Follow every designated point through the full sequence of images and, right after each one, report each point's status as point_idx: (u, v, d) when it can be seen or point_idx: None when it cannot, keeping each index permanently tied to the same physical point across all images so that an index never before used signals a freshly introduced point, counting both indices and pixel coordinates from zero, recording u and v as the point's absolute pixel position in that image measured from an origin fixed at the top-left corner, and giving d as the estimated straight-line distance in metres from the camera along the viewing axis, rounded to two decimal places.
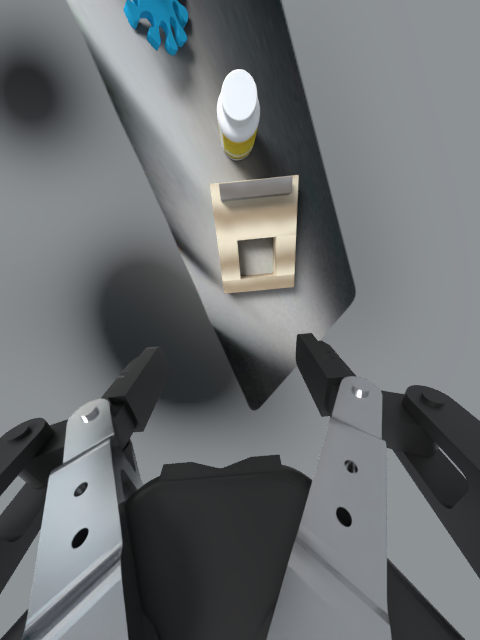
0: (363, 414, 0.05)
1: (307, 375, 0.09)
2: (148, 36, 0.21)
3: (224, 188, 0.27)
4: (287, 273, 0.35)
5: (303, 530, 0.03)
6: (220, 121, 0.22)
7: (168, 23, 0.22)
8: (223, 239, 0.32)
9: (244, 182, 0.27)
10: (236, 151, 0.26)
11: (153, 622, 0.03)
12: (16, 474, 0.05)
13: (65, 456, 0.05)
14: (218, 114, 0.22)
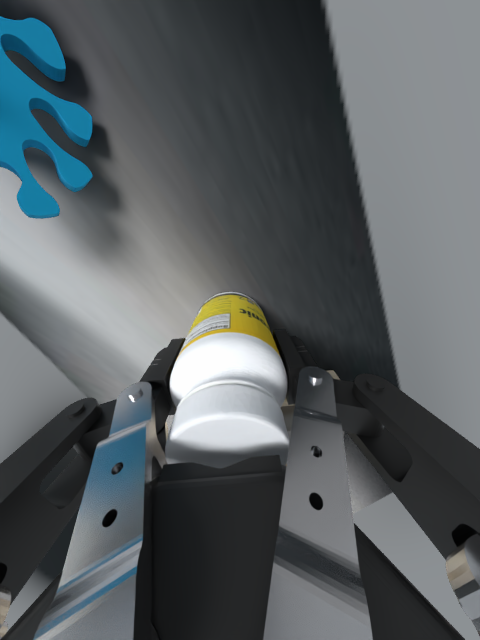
0: (320, 400, 0.06)
1: None
2: None
3: None
4: None
5: (282, 527, 0.03)
6: None
7: (17, 160, 0.08)
8: None
9: None
10: None
11: (153, 622, 0.03)
12: (69, 448, 0.06)
13: (111, 429, 0.06)
14: (174, 403, 0.08)
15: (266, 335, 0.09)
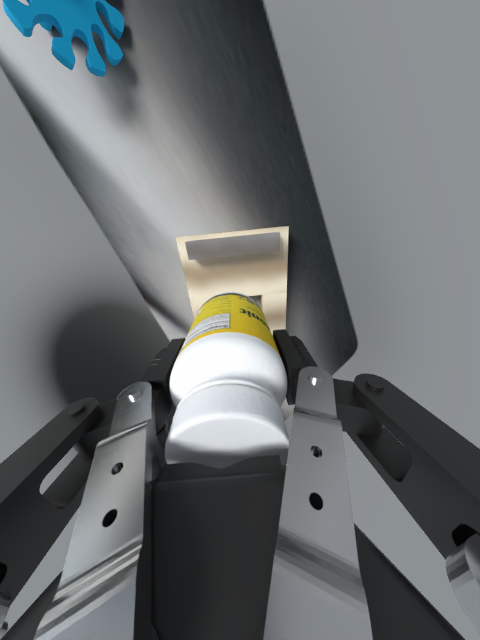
0: (320, 400, 0.06)
1: None
2: (53, 50, 0.14)
3: (192, 247, 0.21)
4: None
5: (282, 528, 0.03)
6: None
7: (88, 33, 0.15)
8: (197, 298, 0.26)
9: (218, 240, 0.21)
10: None
11: (153, 622, 0.03)
12: (68, 448, 0.06)
13: (111, 429, 0.06)
14: (174, 403, 0.08)
15: (266, 335, 0.09)
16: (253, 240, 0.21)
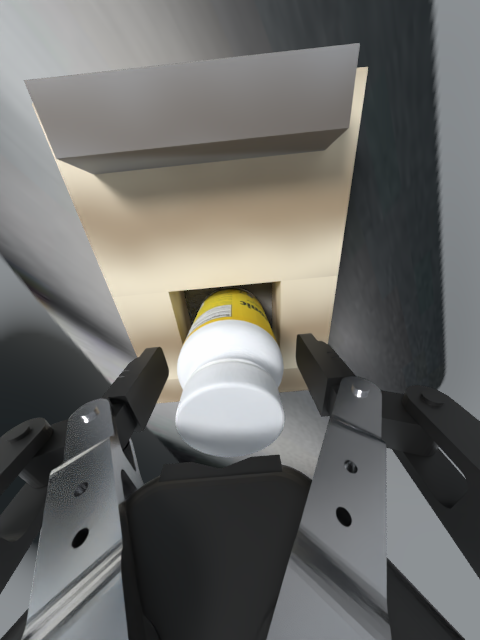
0: (363, 414, 0.05)
1: (307, 375, 0.09)
2: None
3: (57, 105, 0.06)
4: None
5: (303, 530, 0.03)
6: None
7: None
8: (127, 288, 0.11)
9: (140, 74, 0.06)
10: None
11: (153, 622, 0.03)
12: (16, 474, 0.05)
13: (66, 455, 0.05)
14: (180, 384, 0.09)
15: (264, 324, 0.09)
16: (264, 78, 0.06)
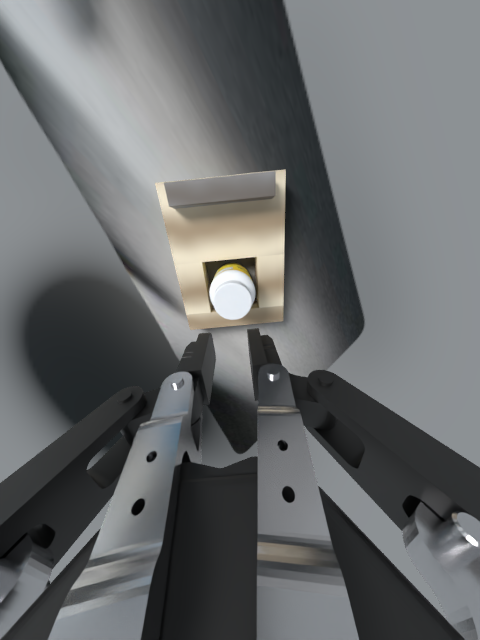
0: (280, 394, 0.06)
1: None
2: None
3: (173, 189, 0.18)
4: (274, 304, 0.26)
5: (261, 534, 0.03)
6: (213, 304, 0.21)
7: None
8: (182, 260, 0.23)
9: (202, 180, 0.18)
10: None
11: None
12: (114, 434, 0.06)
13: (153, 413, 0.06)
14: (211, 298, 0.21)
15: (247, 274, 0.21)
16: (244, 181, 0.18)
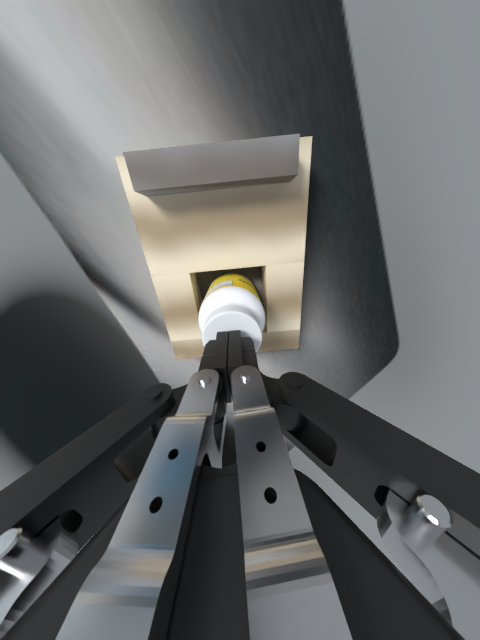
0: (254, 395, 0.06)
1: None
2: None
3: (138, 164, 0.11)
4: (287, 327, 0.19)
5: (247, 544, 0.03)
6: None
7: None
8: (161, 270, 0.16)
9: (184, 149, 0.11)
10: None
11: None
12: (142, 431, 0.06)
13: (179, 407, 0.06)
14: (200, 327, 0.14)
15: (253, 291, 0.15)
16: (250, 150, 0.11)
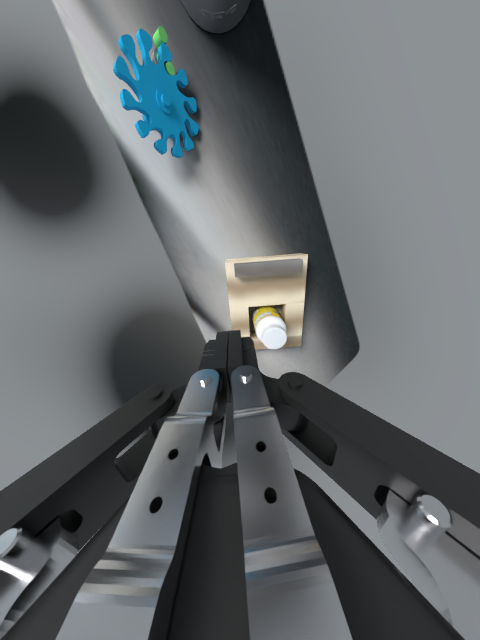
0: (254, 395, 0.06)
1: None
2: (155, 145, 0.23)
3: (239, 268, 0.29)
4: (295, 334, 0.36)
5: (248, 544, 0.03)
6: (258, 337, 0.31)
7: (177, 136, 0.24)
8: (235, 305, 0.33)
9: (258, 264, 0.29)
10: None
11: None
12: (141, 431, 0.06)
13: (179, 407, 0.06)
14: (257, 333, 0.31)
15: (280, 317, 0.32)
16: (283, 264, 0.29)
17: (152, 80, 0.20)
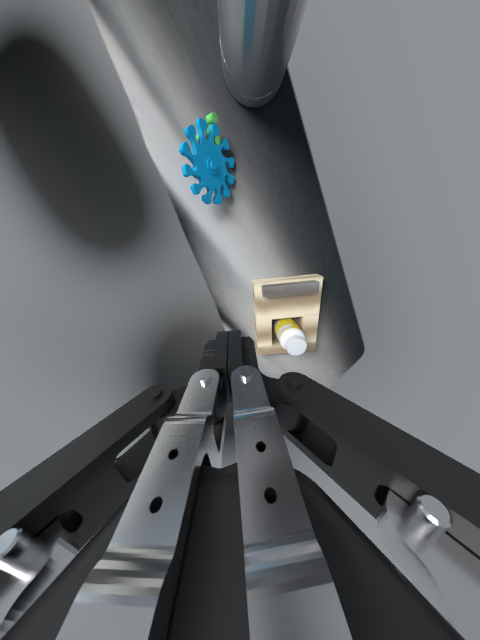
0: (254, 395, 0.06)
1: None
2: (203, 198, 0.29)
3: (266, 290, 0.35)
4: (310, 341, 0.43)
5: (248, 544, 0.03)
6: (282, 345, 0.38)
7: (219, 189, 0.29)
8: (260, 318, 0.40)
9: (282, 286, 0.35)
10: None
11: None
12: (141, 431, 0.06)
13: (179, 408, 0.06)
14: (281, 342, 0.38)
15: None
16: (303, 286, 0.35)
17: (205, 152, 0.26)
